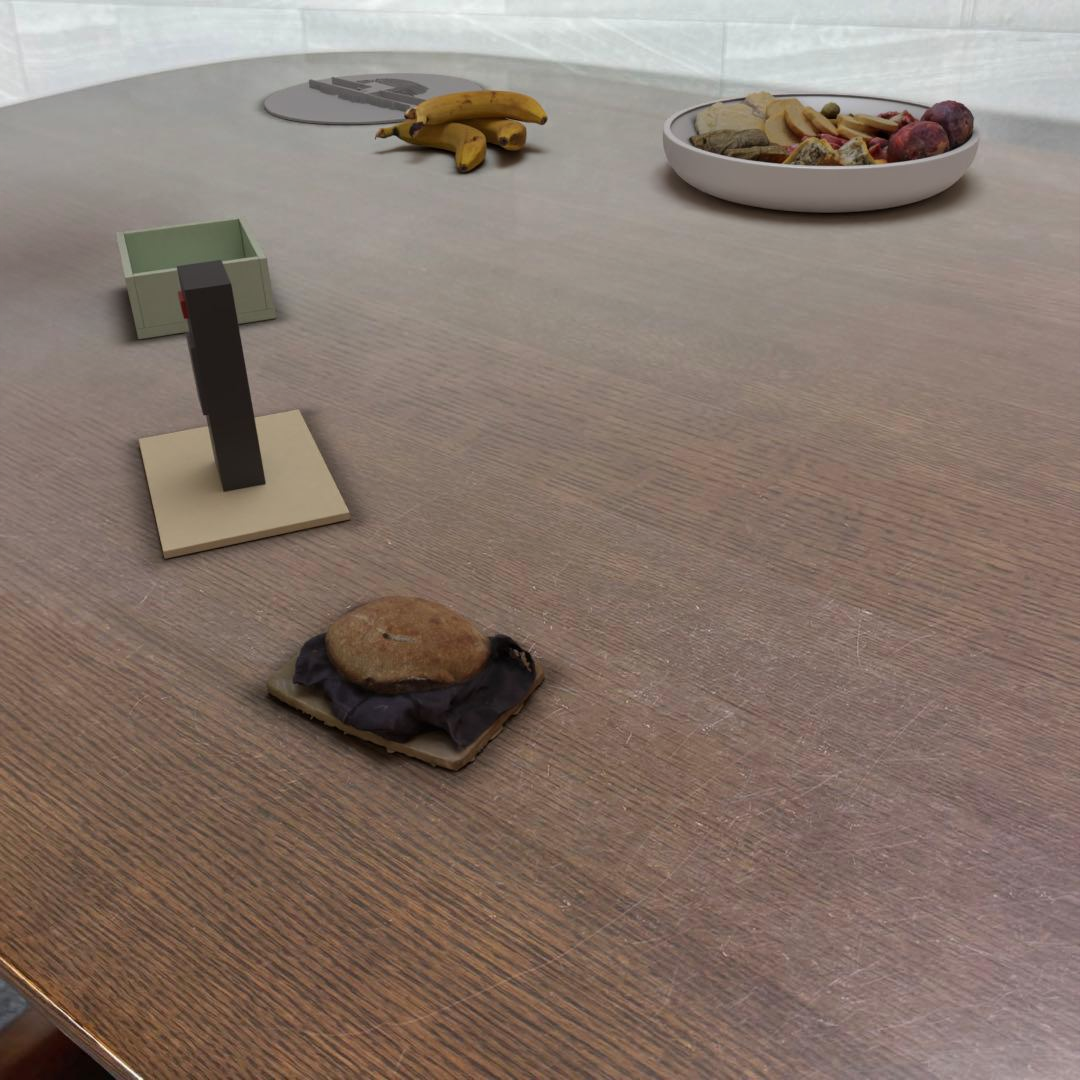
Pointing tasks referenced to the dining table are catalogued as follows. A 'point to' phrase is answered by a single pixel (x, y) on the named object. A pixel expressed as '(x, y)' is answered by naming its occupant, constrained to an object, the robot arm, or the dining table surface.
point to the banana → (469, 123)
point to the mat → (244, 514)
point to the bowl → (821, 150)
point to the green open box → (167, 247)
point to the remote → (221, 372)
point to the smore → (410, 679)
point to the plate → (362, 97)
